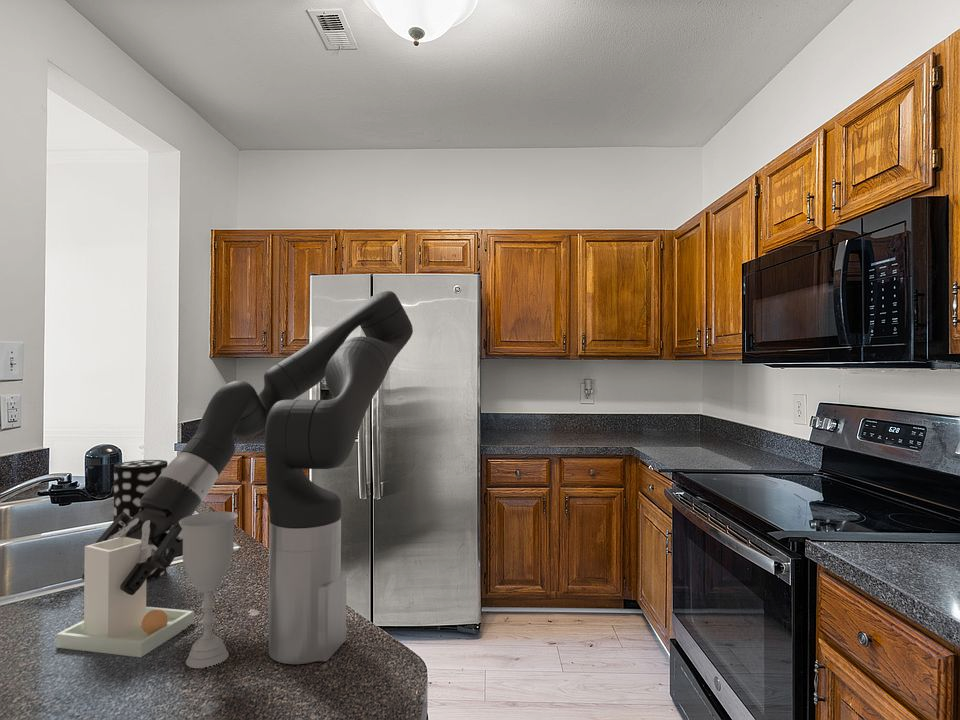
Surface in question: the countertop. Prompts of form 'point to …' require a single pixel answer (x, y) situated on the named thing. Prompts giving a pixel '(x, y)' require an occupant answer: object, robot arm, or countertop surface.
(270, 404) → the robot arm
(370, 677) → the countertop surface
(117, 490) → the white-spotted black cylinder
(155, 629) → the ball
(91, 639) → the tray
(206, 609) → the chalice
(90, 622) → the cup
